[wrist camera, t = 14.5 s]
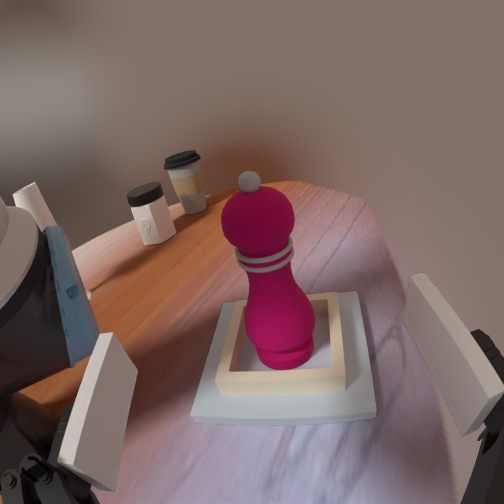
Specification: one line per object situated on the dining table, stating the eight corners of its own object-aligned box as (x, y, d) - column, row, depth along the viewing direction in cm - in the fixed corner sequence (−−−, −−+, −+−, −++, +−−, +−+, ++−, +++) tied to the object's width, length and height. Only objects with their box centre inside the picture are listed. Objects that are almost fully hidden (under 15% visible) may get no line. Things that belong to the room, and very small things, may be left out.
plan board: (194, 422, 29) (181, 402, 27) (226, 310, 44) (219, 288, 42) (375, 418, 25) (379, 397, 23) (356, 299, 41) (356, 275, 39)
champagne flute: (87, 307, 52) (29, 187, 40) (59, 314, 52) (2, 201, 40) (94, 287, 58) (45, 176, 46) (68, 294, 57) (19, 189, 46)
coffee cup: (208, 199, 87) (194, 147, 80) (217, 208, 79) (202, 151, 72) (176, 210, 85) (160, 158, 78) (181, 221, 77) (163, 164, 70)
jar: (136, 247, 70) (118, 200, 64) (150, 230, 77) (134, 186, 71) (170, 242, 68) (153, 192, 62) (182, 225, 75) (167, 178, 69)
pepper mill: (247, 338, 37) (198, 174, 27) (304, 318, 38) (276, 153, 28) (263, 383, 31) (206, 198, 21) (328, 360, 31) (308, 170, 21)
